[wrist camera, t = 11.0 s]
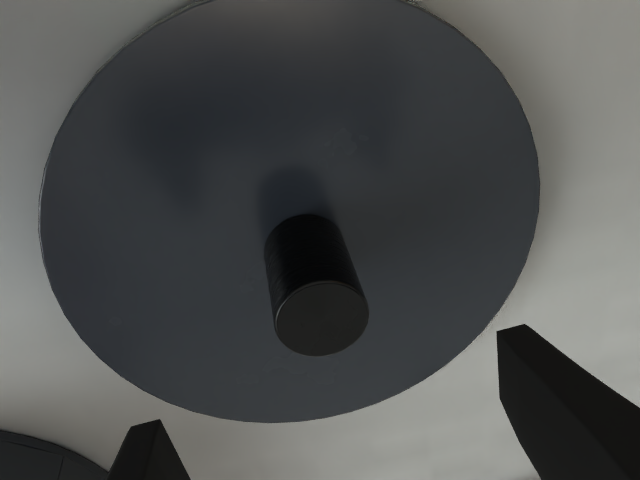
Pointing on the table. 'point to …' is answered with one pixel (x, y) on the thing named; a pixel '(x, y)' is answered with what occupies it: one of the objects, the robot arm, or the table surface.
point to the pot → (42, 461)
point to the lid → (288, 205)
